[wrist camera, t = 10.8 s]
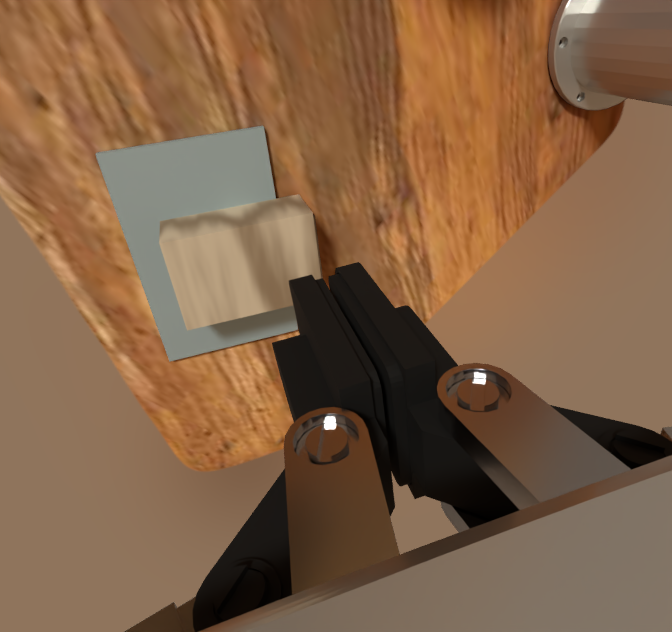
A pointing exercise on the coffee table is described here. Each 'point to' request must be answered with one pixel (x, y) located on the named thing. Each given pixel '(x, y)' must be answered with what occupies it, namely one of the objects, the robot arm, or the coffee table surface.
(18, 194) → the coffee table surface
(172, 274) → the birch block
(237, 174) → the grey mat
